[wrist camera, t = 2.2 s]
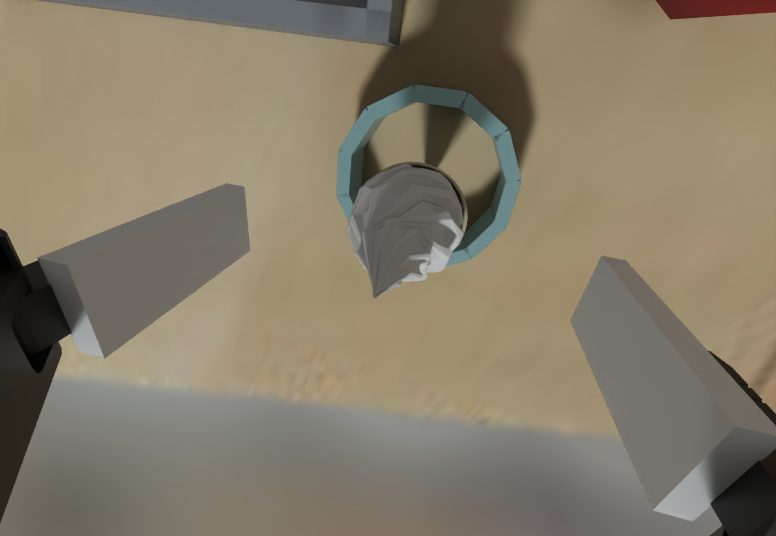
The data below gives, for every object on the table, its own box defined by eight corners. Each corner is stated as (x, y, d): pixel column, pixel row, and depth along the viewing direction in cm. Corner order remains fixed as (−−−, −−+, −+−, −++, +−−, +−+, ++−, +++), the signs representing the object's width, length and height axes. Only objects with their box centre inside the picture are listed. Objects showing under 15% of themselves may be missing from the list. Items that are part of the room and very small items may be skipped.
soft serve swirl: (413, 121, 21) (332, 177, 8) (482, 162, 21) (509, 279, 9) (378, 190, 24) (274, 316, 11) (440, 225, 24) (412, 389, 11)
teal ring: (347, 234, 26) (333, 250, 23) (357, 75, 21) (342, 73, 18) (486, 261, 25) (489, 282, 22) (535, 100, 19) (546, 103, 17)
